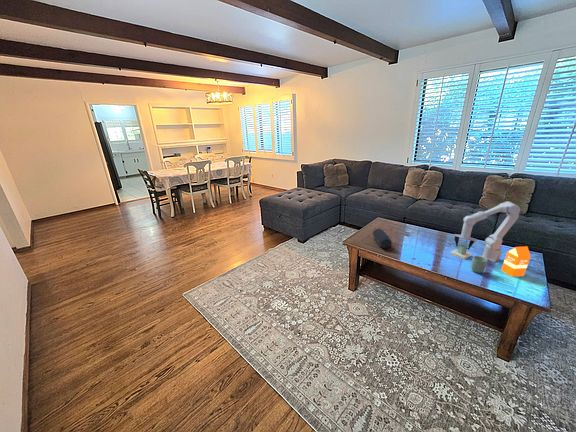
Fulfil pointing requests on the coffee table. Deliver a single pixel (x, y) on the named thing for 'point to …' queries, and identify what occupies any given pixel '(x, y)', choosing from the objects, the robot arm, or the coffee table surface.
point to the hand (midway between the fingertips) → (462, 247)
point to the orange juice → (516, 261)
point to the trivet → (460, 254)
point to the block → (462, 249)
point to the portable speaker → (382, 238)
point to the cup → (478, 264)
